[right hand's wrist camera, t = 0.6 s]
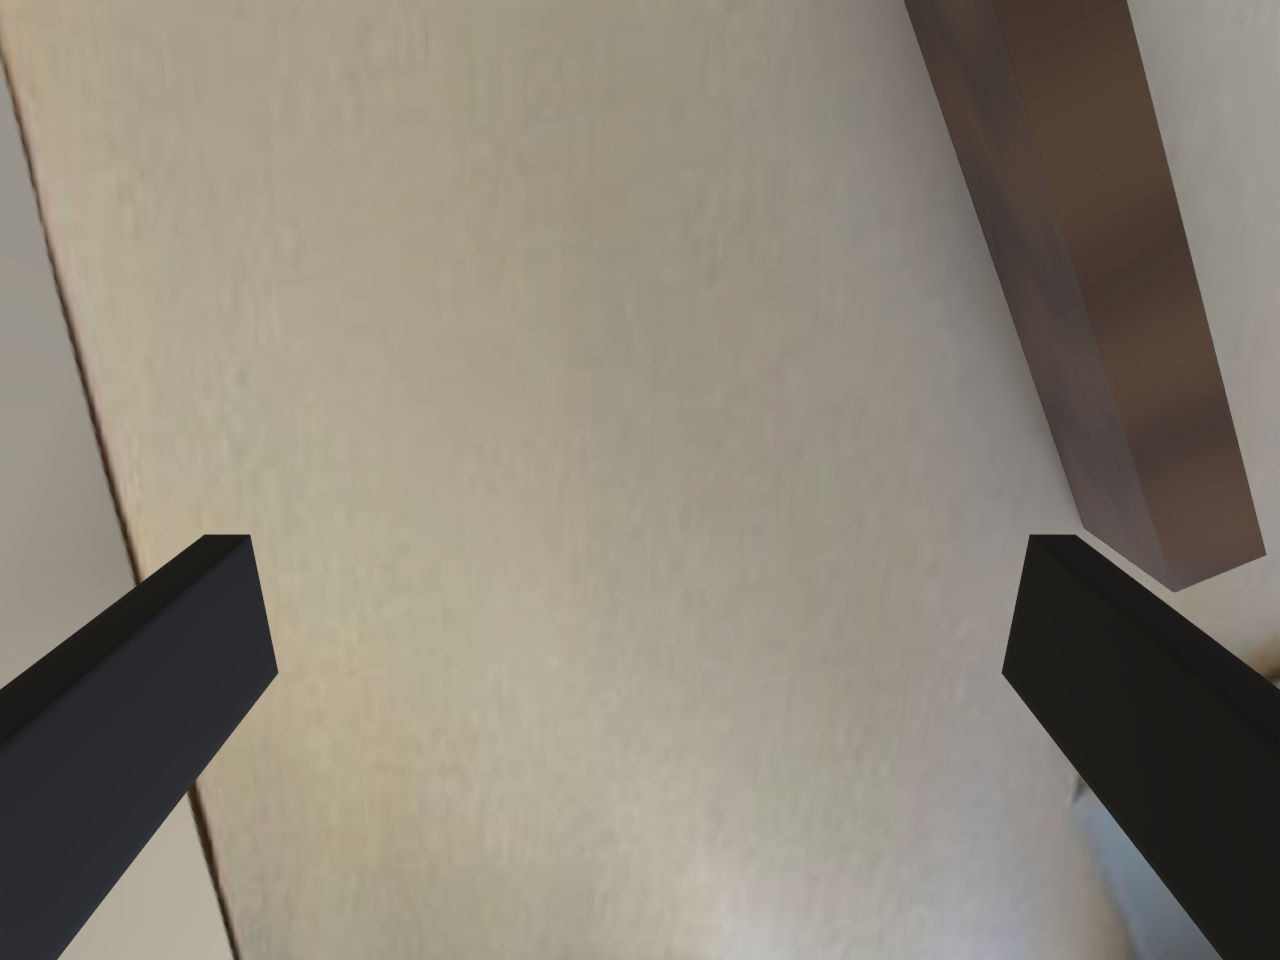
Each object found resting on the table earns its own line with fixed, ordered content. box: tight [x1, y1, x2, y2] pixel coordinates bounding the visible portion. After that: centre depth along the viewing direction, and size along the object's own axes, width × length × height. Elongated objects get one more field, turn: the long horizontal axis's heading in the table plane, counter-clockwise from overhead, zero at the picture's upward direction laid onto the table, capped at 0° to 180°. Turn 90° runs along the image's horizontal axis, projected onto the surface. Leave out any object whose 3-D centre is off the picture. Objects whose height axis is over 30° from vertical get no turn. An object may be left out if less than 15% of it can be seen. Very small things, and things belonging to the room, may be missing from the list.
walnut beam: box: [904, 0, 1266, 593], centre depth 31 cm, size 30×4×7 cm, turn 27°
